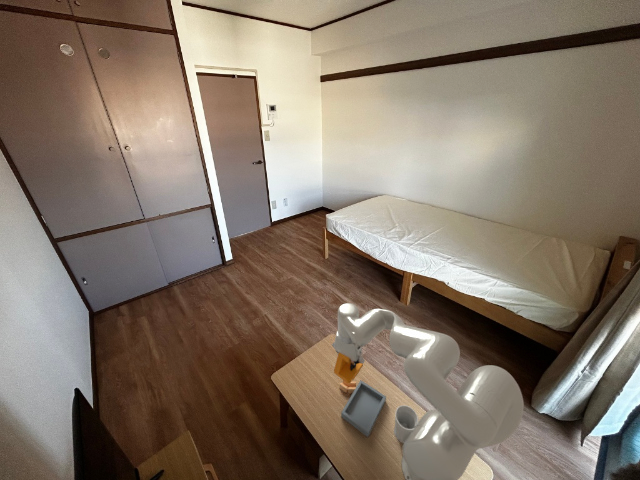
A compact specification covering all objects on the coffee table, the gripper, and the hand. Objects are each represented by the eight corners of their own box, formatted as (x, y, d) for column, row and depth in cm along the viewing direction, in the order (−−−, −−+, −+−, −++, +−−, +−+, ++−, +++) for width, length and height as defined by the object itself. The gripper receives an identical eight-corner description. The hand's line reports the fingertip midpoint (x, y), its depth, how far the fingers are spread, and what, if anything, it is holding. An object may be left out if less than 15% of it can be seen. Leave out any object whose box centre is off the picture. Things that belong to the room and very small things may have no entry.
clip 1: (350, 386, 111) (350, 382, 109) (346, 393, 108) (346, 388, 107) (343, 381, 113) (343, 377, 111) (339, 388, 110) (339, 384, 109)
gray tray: (385, 401, 105) (386, 396, 103) (368, 437, 94) (368, 433, 92) (360, 384, 111) (360, 380, 109) (341, 416, 100) (341, 412, 98)
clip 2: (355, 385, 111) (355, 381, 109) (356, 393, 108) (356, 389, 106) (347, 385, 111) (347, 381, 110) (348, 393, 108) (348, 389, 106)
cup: (388, 435, 94) (391, 419, 88) (396, 416, 100) (400, 400, 94) (409, 451, 90) (414, 435, 84) (416, 430, 95) (421, 414, 89)
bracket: (348, 385, 95) (349, 367, 89) (334, 374, 99) (334, 355, 93) (363, 365, 102) (365, 346, 96) (349, 355, 106) (350, 336, 100)
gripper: (373, 336, 89) (370, 368, 98) (334, 317, 98) (334, 347, 107) (364, 352, 84) (361, 383, 93) (323, 329, 93) (325, 360, 102)
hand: (347, 364), depth 100 cm, fingers closed on bracket, 4 cm apart
